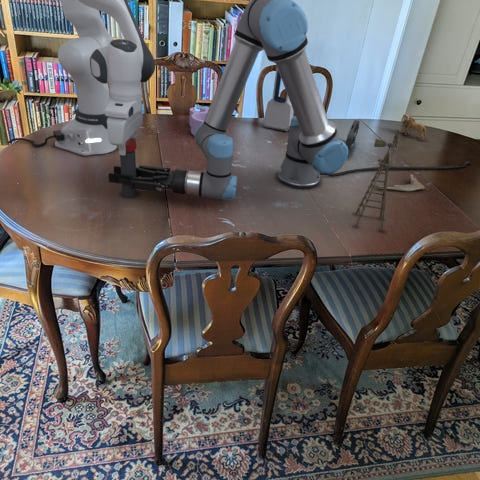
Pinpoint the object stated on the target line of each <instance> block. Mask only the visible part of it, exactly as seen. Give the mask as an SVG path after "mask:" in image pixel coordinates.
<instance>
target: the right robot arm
mask: <svg viewBox="0 0 480 480" xmlns="http://www.w3.org/2000/svg"><path fill="white" fill-rule="evenodd" d="M308 27H309V25H308V18H307V15H306V13H305V11H304V9H302V7H301V6H300V5H299V4H297V3H296V2H295V1H293V0H250V1H249V3H247V5H246V7H245V8H244V10H243V12H242V14H241V17H240V18H239V21H238V24H237V27H236V29H235V31H234V34H233V37H234V39H235V40H234V44H233V46H232V49H231V51H230V54H229V57H228V59H227V62H226V64H225V67H224V69H223V71H222V74H221V76H220V78H219V79H220V80H219V81H218V84H217V87H216V89H215V92H214V95H213V97H212V99H211V102H210V105H209V108H208V112H207V115H206V117H205V120H204V122H203V124H201V125H200V126H199V127H198V128H197V129H196V131H195V136H194V140H195V143H196V145H197V147H199V149H200V150H201V152H202V154H203V155H204V156H205V158H206V172H205V171H198V170H197V171H196V170H189V171H187V170H186V169H178V168H176V169H175V170H174V171H173V172H171V167H158V166H149V165H139V166H138V167H136V177H132V175H122V174H121V166H119V165H118V166H116V165H114V166H113V172H112V173H111V172H109V173H108V183H112V184H121V185H122V184H129V185H130V188H131V189H136V190H137V191H145V192H154V193H157V194H163V191H164V190H171V191H172V193H173V194H175V195H182V196H183V195H185V194H186V195H187V196H193V197H202V198H208V199H209V198H210V199H219V200H234V199H235V198H236V194H237V186H238V176H236V175H233V174H232V167H233V159H234V152H235V149H234V139H233V137H231V136H230V135H227V134H226V131H227V129H228V126H229V125H230V122H231V119H232V117H233V114H234V112H235V109H236V107H237V105H238V103H239V101H240V98H241V96H242V94H243V91H244V89H245V86H246V84H247V82H248V79H249V77H250V74H251V73H252V70H253V68H254V65H255V63H256V61H257V58H258V56H259V53H261V52H262V51H264V53H265V55H266V58H267V60H268V61H269V62H271V63H274V64H275V66H276V67H277V69H278V71H279V74H280V76H281V82H282V84H283V86H284V87H283V88H284V90H285V93H286V92H287V95H288V97H289V100H290V102H291V105H292V108H293V110H294V112H293V114H294V115H293V118H292V119H291V123H290V126H289V127H290V129H289V130H288V137H287V141H286V142H287V143H286V149H285V150H286V151H285V156H284V158H283V161H282V162H281V165H280V166H279V168H278V170H277V175H276V176H277V180H278V182H280V183H281V184H283V185H285V186H288V187H291V188H295V189H312V188H315V187H318V185H320V180H321V176H330V177H338V176H342V175H346V174H350V173H356V172H365V171H378V167H379V166H376V167H375V166H374V167H364V168H356V169H355V168H354V169H349V170H344V171H341V172H338V171H339V170H340V169H342V167H344V165H345V164H346V161H347V160H348V159H349V158H348V148H347V146H346V142H344V141H343V140H341V138H340V135H339V132H338V129H337V126H336V124H335V122H333V121H332V120H329V119H328V115H327V112H326V109H325V106H324V104H323V101H322V97H321V95H320V92H319V89H318V86H317V85H318V84H317V81H316V80H315V76H314V74H313V70H312V68H311V67H312V66H311V64H310V61H309V59H308V56H307V53H306V48H307V46H308V45H309V40H308V37H307V33H308ZM347 158H348V159H347ZM469 162H470V161H469V160H468V161H465V162H464V163H463V164H467V163H468V164H467V165H469V166H472V162H471V163H469ZM463 164H462V165H463ZM454 166H456V167H454ZM464 167H466V165H463V166H458V165H446V166H443V165H442V166H396V167H393V166H392V167H390V166H388V170H446V169H460V168H464ZM383 169H386V166H385V167H383Z"/></svg>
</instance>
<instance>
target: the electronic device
mask: <svg viewBox="0 0 480 480" xmlns="http://www.w3.org/2000/svg"><path fill="white" fill-rule="evenodd" d="M275 68H276V70H275V75H274V76H275V77H274V84H273V91H272V97H271V99H270V100H268V101H267V104H266V109H265V112H264V116H263V119H262V120H263V121H262V125H263V126H264V128H268V129H272V130H278V131H283V132H289V129H290V127H289V126H290V123H291V119H292V118H293V117H294V110H293V108H292V105H291V102H290V100H289V97H288V95H287V92H286V91H285V95H284V97H281V96H280V89H281V82H282V79H281V76H280V74H279V71H278V69H277V66H276V67H275Z"/></svg>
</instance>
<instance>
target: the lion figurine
mask: <svg viewBox="0 0 480 480" xmlns="http://www.w3.org/2000/svg"><path fill="white" fill-rule="evenodd" d="M400 121H401V124H402V125H403V127H404V128H406V132H404V135H405V136H407V135H409V134H410V132H411V131H415V132H416V131H417V132H418V134H419V135H417V138H419V141H423V140H424V139H425V140H427V141H428V140H429V138H428V137H426V134H427V133H426V132H427V131H426V125H425V124H423V123H419V122H416V121H415V118H414V117H412V116H411V115H410V114H407V113H405V114H403V115H402V118H401V119H400ZM407 133H408V134H407ZM420 136H421V137H420ZM421 138H422V139H421Z"/></svg>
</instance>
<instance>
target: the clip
mask: <svg viewBox="0 0 480 480" xmlns="http://www.w3.org/2000/svg"><path fill="white" fill-rule="evenodd" d="M208 110H209V108H206V107H203V106H200V107H199V111H196V108H195V107H190V108H189V118H188V119H189V120H188V121H189V122H188V125H189V127H190V134H191V135H193V136H194V137H195V131H196V129H197V128H198V127H199V126H200V125H201V124H203V122H204V120H205V117H206V115H207V112H208Z"/></svg>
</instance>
